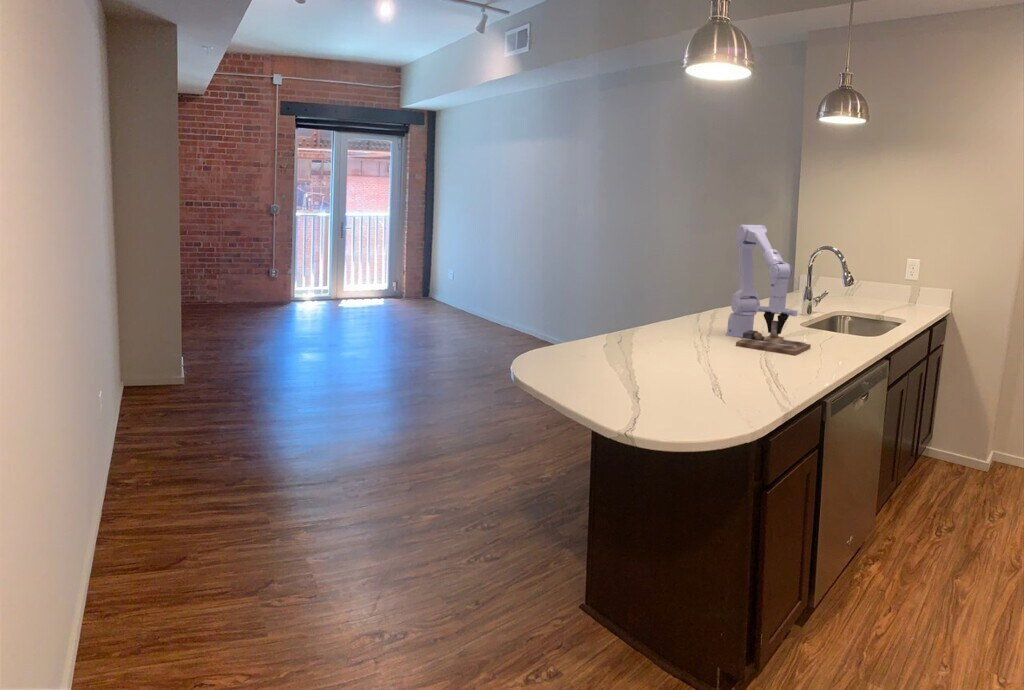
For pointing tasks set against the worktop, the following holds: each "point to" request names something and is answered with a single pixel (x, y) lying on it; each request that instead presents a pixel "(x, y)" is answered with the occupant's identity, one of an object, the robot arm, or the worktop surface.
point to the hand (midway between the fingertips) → (774, 333)
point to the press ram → (774, 334)
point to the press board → (771, 344)
